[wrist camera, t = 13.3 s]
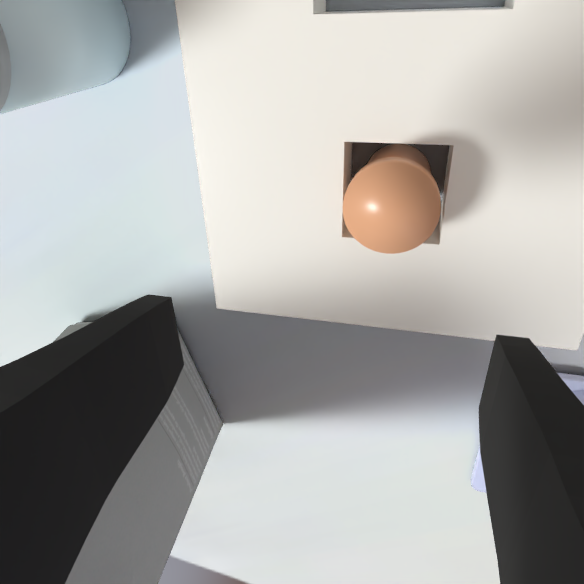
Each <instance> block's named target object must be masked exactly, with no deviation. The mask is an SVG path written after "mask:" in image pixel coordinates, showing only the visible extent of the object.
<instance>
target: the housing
mask: <svg viewBox="0 0 584 584" xmlns="http://www.w3.org/2000/svg"><path fill="white" fill-rule="evenodd" d="M175 6H176V14H177V21H178V28H179V36H180V43H181V50H182V58H183V65H184V72H185V80H186V87H187V94H188V102H189V109H190V116H191V124H192V131H193V138H194V146H195V153H196V160H197V168H198V175H199V182H200V190H201V197H202V204H203V212H204V219H205V226H206V234H207V241H208V248H209V256H210V263H211V270H212V278H213V285H214V292H215V300H216V307H217V309H225V310H234V311H242V312H251V313H259V314H268V315H276V316H285V317H294V318H302V319H311V320H319V321H328V322H336V323H345V324H353V325H362V326H370V327H379V328H388V329H396V330H405V331H413V332H422V333H430V334H439V335H447V336H456V337H464V338H473V339H482V340H490V341H495V338H496V334H497V335H506V336H515V337H524V338H529V339H530V340H531V341H532V342H533V344H534V345H535V346H541V347H550V348H559V349H567V350H576V351H577V350H578V348H579V345H580V342H581V339H582V336H583V334H584V0H505V5H504V7H479V8H443V9H407V10H371V11H335V12H326V0H175ZM352 142H369V143H400V144H431V145H450V146H449V154H448V161H447V168H446V175H445V182H444V189H443V196H442V204H441V212H440V218H439V222H438V224H437V226H436V228H435V230H434V232H433V233H432V234H431V236H430V237H429V238H428V239H427V240H426V241H425V242H424V243H422V244H421V245H419V246H418V247H416V248H414V249H412V250H409V251H406V252H402V253H395V254H386V253H380V252H376V251H373V250H371V249H368V248H367V247H365V246H363V245H362V244H360V243H359V242H358V241H357V240H356V239H355V238H354V237H353V236H352V235H351V233H350V232H349V230H348V228H347V226H346V224H345V221H344V217H343V208H342V207H343V200H344V196H345V193H346V191H347V188H348V186H349V184H350V182H351V166H352Z"/></svg>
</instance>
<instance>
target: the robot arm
mask: <svg viewBox="0 0 584 584" xmlns="http://www.w3.org/2000/svg"><path fill="white" fill-rule="evenodd" d="M183 366H184V360H183V355H182V350H181V345H180V340H179V335H178V329H177V324H176V319H175V314H174V309H173V303H172V298H171V297H164V296H155V295H146V296H144V297H141V298H139V299H137V300H135V301H133V302H131V303H128V304H126V305H125V306H123V307H121V308H119V309H117V310H115V311H113V312H111V313H109V314H107V315H105V316H103V317H102V318H100V319H98V320H96V321H94V322H92V323H90V324H88V325H86V326H84V327H83V328H81V329H79V330H77V331H75V332H73V333H71V334H69V335H67V336H65V337H63V338H61V339H59V340H57V341H55V342H53V343H51V344H49V345H47V346H45V347H43V348H41V349H38V350H36V351H34V352H32V353H30V354H28V355H26V356H24V357H22V358H20V359H18V360H15V361H13V362H11V363H9V364H6V365H4V366H2V367H0V584H65V583H66V581H67V578H68V576H69V574H70V572H71V570H72V568H73V566H74V564H75V561H76V559H77V557H78V555H79V553H80V551H81V549H82V547H83V545H84V542H85V540H86V538H87V536H88V534H89V532H90V530H91V528H92V526H93V524H94V522H95V520H96V519H97V517H98V515H99V513H100V511H101V509H102V507H103V505H104V503H105V501H106V499H107V497H108V495H109V494H110V492H111V490H112V489H113V487H114V485H115V483H116V482H117V480H118V478H119V477H120V475H121V474H122V472H123V471H124V469H125V467H126V466H127V464H128V463H129V461H130V460H131V458H132V457H133V455H134V453H135V452H136V450H137V449H138V447H139V446H140V444H141V443H142V441H143V439H144V438H145V436H146V435H147V433H148V432H149V430H150V429H151V427H152V425H153V424H154V422H155V421H156V419H157V418H158V416H159V414H160V413H161V411H162V410H163V408H164V406H165V405H166V403H167V401H168V399H169V397H170V395H171V393H172V391H173V389H174V387H175V385H176V383H177V380H178V378H179V376H180V373H181V371H182V369H183ZM479 433H480V445H479V449H478V452H477V456H476V460H475V464H474V468H473V472H472V476H471V486H472V487H473V488H474V489H475V490H477V491H480V492H486V493H487V498H488V504H489V510H490V516H491V522H492V529H493V535H494V541H495V547H496V553H497V559H498V567H499V575H500V584H584V376H580V375H572V374H564V373H557V372H556V371H555V370H554V369H553V367H552V366H551V365H550V364H549V362H548V361H547V360H546V359H545V357H544V356H543V355H542V353H541V352H540V351H539V350H538V348H537V347H536V346H535V345H534V344H533V342H532V341H531V340H530V339H529V338H524V337H515V336H506V335H497V334H496V338H495V343H494V347H493V351H492V355H491V359H490V363H489V368H488V372H487V376H486V380H485V384H484V388H483V393H482V397H481V401H480V405H479Z"/></svg>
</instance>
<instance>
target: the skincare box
mask: <svg viewBox="0 0 584 584" xmlns="http://www.w3.org/2000/svg"><path fill="white" fill-rule="evenodd" d="M90 323H92V322H79V323H76V324H75V325H70V326H68V327H67V328H66V329H65V330H64V331H63V332H62V333H61V334H60V336H59V337H58V338H57V339H56V340H55V341H57V340H59V339H61V338H63V337H65V336H67V335H69V334H71V333H73V332H75V331H77V330H79V329H81V328H83V327H84V326H86V325H88V324H90ZM178 335H179V340H180V345H181V350H182V355H183V360H184V366H183V369H182V371H181V373H180V376H179V378H178V380H177V383H176V385H175V387H174V389H173V391H172V393H171V395H170V397H169V399H168V401H167V403H166V405H165V406H164V408H163V410H162V411H161V413H160V414H159V416H158V418H157V419H156V421H155V422H154V424H153V425H152V427H151V429H150V430H149V432H148V433H147V435H146V436H145V438H144V439H143V441H142V443H141V444H140V446H139V447H138V449H137V450H136V452H135V453H134V455H133V457H132V458H131V460H130V461H129V463H128V464H127V466H126V467H125V469H124V471H123V472H122V474H121V475H120V477H119V478H118V480H117V482H116V483H115V485H114V487H113V489H112V490H111V492H110V494H109V495H108V497H107V499H106V501H105V503H104V505H103V507H102V509H101V511H100V513H99V515H98V517H97V519H96V520H95V522H94V524H93V526H92V528H91V530H90V532H89V534H88V536H87V538H86V540H85V542H84V545H83V547H82V549H81V551H80V553H79V555H78V557H77V559H76V561H75V564H74V566H73V568H72V570H71V572H70V574H69V576H68V578H67V581H66V583H65V584H158V582H159V580H160V577H161V575H162V572H163V570H164V567H165V565H166V563H167V560H168V558H169V555H170V553H171V550H172V548H173V545H174V543H175V540H176V538H177V535H178V533H179V530H180V528H181V526H182V523H183V521H184V518H185V516H186V513H187V511H188V508H189V506H190V503H191V501H192V498H193V496H194V493H195V491H196V489H197V486H198V484H199V481H200V479H201V476H202V474H203V471H204V469H205V466H206V464H207V461H208V459H209V457H210V454H211V451H212V449H213V446H214V444H215V442H216V439H217V437H218V435H219V432H220V430H221V427H222V426H223V423H222V421H221V419H220V416H219V414H218V412H217V410H216V408H215V406H214V404H213V402H212V400H211V398H210V396H209V394H208V392H207V389H206V387H205V385H204V383H203V381H202V379H201V377H200V375H199V373H198V371H197V369H196V367H195V364H194V362H193V360H192V358H191V356H190V354H189V352H188V350H187V348H186V346H185V343H184V341H183V339H182V337H181V335H180V333H179V331H178ZM55 341H54V342H55Z"/></svg>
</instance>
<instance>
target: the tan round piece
mask: <svg viewBox="0 0 584 584" xmlns="http://www.w3.org/2000/svg"><path fill="white" fill-rule="evenodd" d="M342 208H343V217H344V221H345V224H346V226H347V228H348V230H349V232H350V233H351V235H352V236H353V237H354V238H355V239H356V240H357V241H358V242H359V243H360V244H362V245H363V246H365V247H367V248H368V249H371V250H373V251H376V252H380V253H386V254H395V253H402V252H406V251H409V250H412V249H414V248H416V247H418V246H419V245H421V244H422V243H424V242H425V241H426V240H427V239H428V238H429V237H430V236H431V234H432V233H433V232H434V230H435V228H436V226H437V224H438V221H439V218H440V212H441V199H440V192H439V188H438V185H437V183H436V181H435V179H434V178H433V176H432V175H431V169H430V165H429V163H428V160H427V159H426V157H425V156H424V155H423V154H422V153H421V152H420V151H419V150H418V149H416V148H414V147H413V146H410V145H406V144H391V145H387V146H385V147H383V148H381V149H379V150H378V151H377V152H375V153H374V154H373V155H372V156H371V158H370V159H369V161H368V163H367V165H365V166H364V167H363V168H361V169H360V170H359V171H358V172H357V173H356V174H355V176H354V177H353V178H352V180H351V182H350V184H349V186H348V188H347V191H346V193H345V196H344V200H343V207H342Z"/></svg>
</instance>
